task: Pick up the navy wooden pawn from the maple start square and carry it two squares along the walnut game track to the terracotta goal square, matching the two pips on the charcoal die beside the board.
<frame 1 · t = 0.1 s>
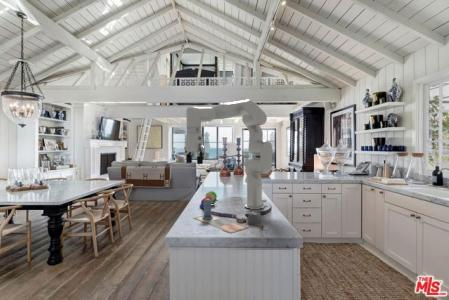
hand: (194, 163, 144), 31 cm above the countertop, tool pointing down, fingers open, 9 cm apart
toy: (208, 206, 178), on the countertop
die: (254, 222, 142), on the countertop
pawn: (207, 218, 150), resting on board
board: (219, 222, 142), on the countertop
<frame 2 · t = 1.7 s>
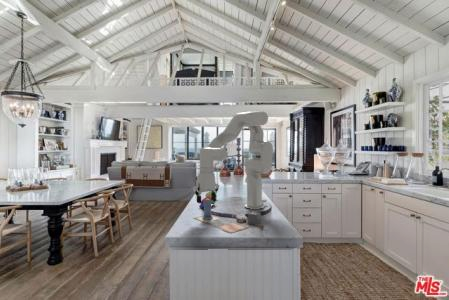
hand: (206, 201, 149), 10 cm above the countertop, tool pointing down, fingers open, 9 cm apart
nothing on the countertop moved.
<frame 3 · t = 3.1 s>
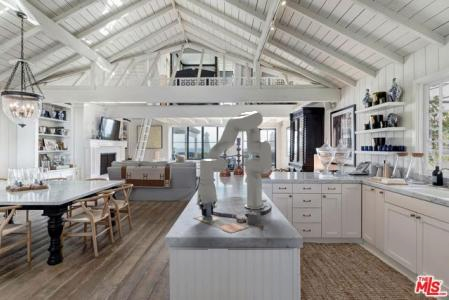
hand: (207, 214, 150), 2 cm above the countertop, tool pointing down, fingers closed on pawn, 4 cm apart
pawn: (207, 218, 150), resting on board, touching gripper
everything else where it was.
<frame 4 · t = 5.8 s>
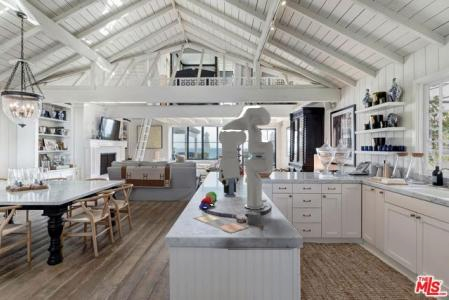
hand: (230, 192, 134), 17 cm above the countertop, tool pointing down, fingers closed on pawn, 4 cm apart
pawn: (230, 196, 135), point 15 cm above the countertop, touching gripper
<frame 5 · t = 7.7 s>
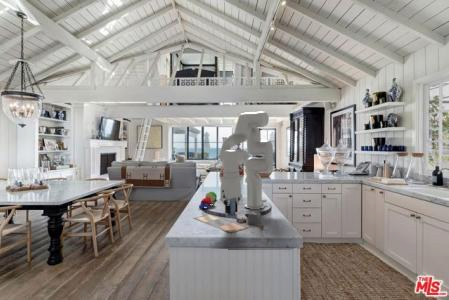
hand: (231, 212, 134), 8 cm above the countertop, tool pointing down, fingers closed on pawn, 4 cm apart
pawn: (231, 216, 134), point 6 cm above the countertop, touching gripper
when the fingers open (4 cm above the countertop, at t = 8.9 s): pawn drops 1 cm, resting on board.
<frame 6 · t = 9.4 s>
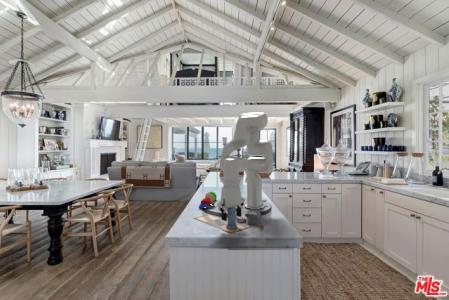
hand: (231, 218, 134), 5 cm above the countertop, tool pointing down, fingers open, 9 cm apart
pawn: (231, 227, 135), resting on board
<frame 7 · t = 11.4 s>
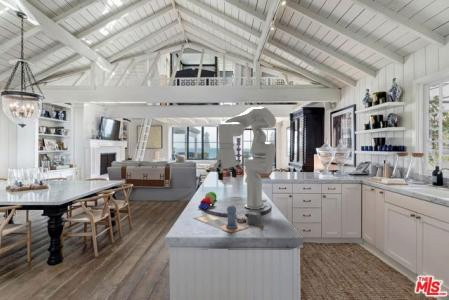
hand: (227, 178, 145), 23 cm above the countertop, tool pointing down, fingers open, 9 cm apart
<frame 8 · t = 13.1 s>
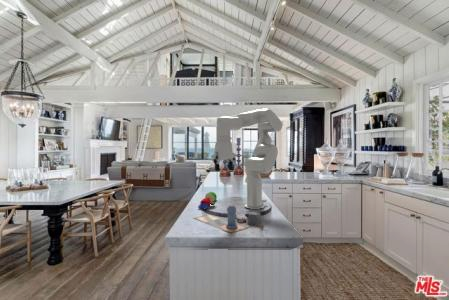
hand: (224, 170, 152), 26 cm above the countertop, tool pointing down, fingers open, 9 cm apart
at the end: pawn inside the target area (0.0 cm from its centre), resting on board; pawn tilted 0°; the gripper is holding nothing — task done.
